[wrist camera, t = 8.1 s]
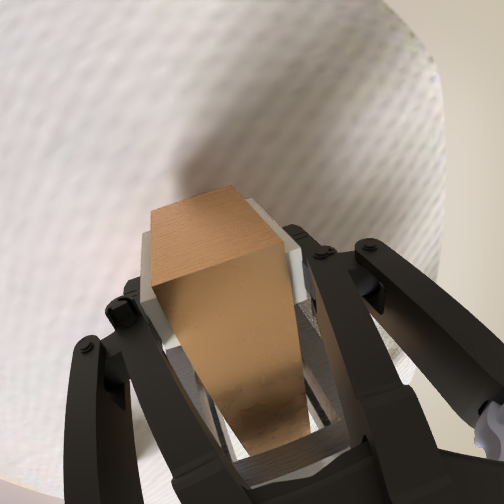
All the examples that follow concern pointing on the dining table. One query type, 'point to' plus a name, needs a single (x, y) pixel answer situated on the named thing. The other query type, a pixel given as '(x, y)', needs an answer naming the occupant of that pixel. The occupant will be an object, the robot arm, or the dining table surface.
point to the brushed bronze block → (233, 313)
